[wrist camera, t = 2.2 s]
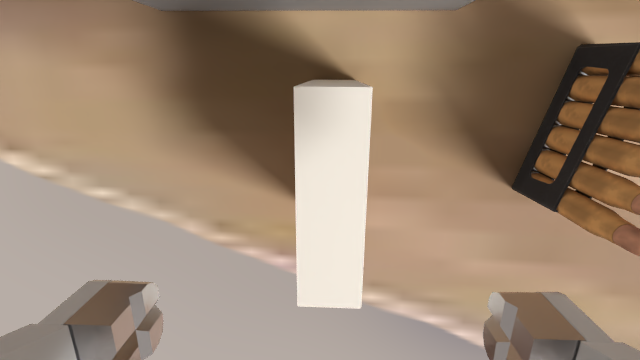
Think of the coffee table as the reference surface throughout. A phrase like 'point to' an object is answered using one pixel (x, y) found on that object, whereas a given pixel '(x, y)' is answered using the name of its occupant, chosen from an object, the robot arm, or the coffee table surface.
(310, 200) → the door panel
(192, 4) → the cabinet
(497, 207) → the coffee table surface
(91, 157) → the coffee table surface
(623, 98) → the ammunition clip
